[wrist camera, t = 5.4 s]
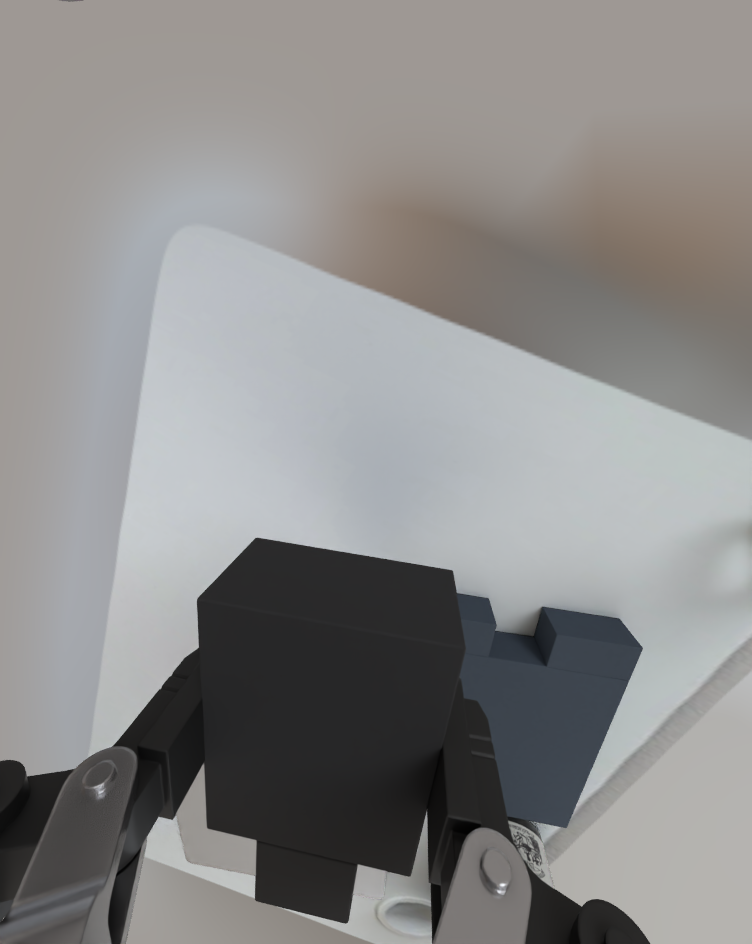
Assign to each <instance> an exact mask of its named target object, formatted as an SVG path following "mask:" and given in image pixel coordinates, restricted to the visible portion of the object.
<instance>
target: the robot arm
mask: <svg viewBox="0 0 752 944" xmlns="http://www.w3.org/2000/svg"><path fill="white" fill-rule="evenodd" d="M204 761H205V748H204V723H203V699H202V697H201V681H200V657H199V648H198V649H197V650H195V651H194V652H192V653H191V654H190V655H188V656H187V657H185V658H184V660H183V661H182V662H181V663H180V665H179V666H178V667H177V668H176V670H175V671H174V672H173V674H172V676H170V677H169V678H168V679H167V681H166V682H165V683H164V684H163V686H162V688H161V689H159V691H158V692H157V693H156V694H155V696H154V697H153V698H152V699H151V700H150V702H149V703H148V704H147V705H146V707H145V708H144V709H143V710H142V712H141V713H140V714H139V715H138V717H137V718H136V719H135V720H134V721H133V723H132V724H131V725H130V726H129V728H128V729H127V730H126V731H125V733H124V734H123V735H122V736H121V738H120V739H119V740H118V741H117V742H116V743H115V744H114V745H113V746H112V747H111V748H107V749H104V750H102V751H99V752H97V753H95V754H94V755H92V756H90V757H89V758H87V759H86V760H85V761H83V762H82V763H81V764H80V765H79V766H78V767H77V768H75V769H72V770H67V771H61V772H55V773H48V774H42V775H35V776H28V777H27V775H26V771H25V767H24V766H23V765H22V764H21V763H20V762H17V761H14V760H5V761H0V921H1V920H2V919H3V918H4V919H3V920H2V921H1V922H0V944H126V940H127V936H128V931H129V926H130V921H131V917H132V912H133V907H134V902H135V897H136V892H137V888H138V883H139V878H140V873H141V868H142V863H143V858H144V854H145V849H146V843H147V836H148V834H149V832H150V830H151V829H152V827H153V825H154V824H155V822H156V820H157V818H158V817H163V818H167V819H171V820H173V818H174V817H175V815H176V813H177V811H178V809H179V807H180V806H181V804H182V802H183V800H184V798H185V796H186V795H187V793H188V791H189V789H190V787H191V785H192V784H193V782H194V780H195V778H196V776H197V774H198V773H199V771H200V769H201V767H202V765H203V763H204ZM427 818H428V868H429V883H433V884H437V885H441V902H442V914H441V917H440V921H439V924H438V927H437V930H436V934H435V937H434V940H433V943H432V944H650V943H649V941H648V940H647V938H646V936H645V935H644V934H643V932H642V931H641V930H640V928H639V927H638V926H637V925H636V924H635V923H634V922H633V920H632V919H630V917H629V916H627V915H626V914H625V913H624V912H623V911H622V910H620V909H619V908H618V907H616V906H614V905H612V904H611V903H609V902H606V901H604V900H599V899H594V900H590V901H588V902H586V903H585V904H584V905H583V906H582V907H581V906H580V905H578V904H577V903H575V902H574V901H572V900H571V899H569V898H568V897H566V896H564V895H563V894H562V893H560V892H558V891H557V890H555V889H554V888H552V887H551V886H549V885H548V884H547V883H545V882H544V881H542V880H541V879H540V878H539V877H538V876H537V875H536V874H535V873H534V872H533V871H532V870H531V869H530V868H529V866H528V865H527V864H526V862H525V861H524V860H523V858H522V856H521V855H520V853H519V851H518V849H517V847H516V845H515V843H514V841H513V838H512V835H511V832H510V828H509V823H508V818H507V813H506V808H505V803H504V798H503V792H502V787H501V782H500V777H499V772H498V767H497V762H496V760H495V752H494V747H493V743H492V737H491V732H490V727H489V722H488V718H487V717H486V715H485V713H484V711H483V710H482V708H481V706H480V704H479V703H478V701H476V700H471V699H466V698H464V694H463V687H462V681H461V678H460V677H459V680H458V684H457V689H456V693H455V697H454V701H453V705H452V709H451V713H450V717H449V721H448V725H447V730H446V734H445V738H444V742H443V746H442V750H441V754H440V758H439V762H438V766H437V770H436V774H435V778H434V782H433V787H432V791H431V795H430V799H429V803H428V807H427Z"/></svg>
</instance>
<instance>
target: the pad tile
mask: <svg viewBox="0 0 752 944" xmlns="http://www.w3.org/2000/svg"><path fill="white" fill-rule="evenodd" d="M197 611H198V634H199V657H200V681H201V697H202V699H203V723H204V748H205V761H204V774H205V797H206V821H207V828H208V829H211V830H215V831H219V832H223V833H228V834H232V835H236V836H240V837H244V838H249V839H253V840H256V881H255V900H256V901H258V902H262V903H266V904H270V905H274V906H278V907H282V908H286V909H290V910H294V911H298V912H301V913H305V914H309V915H313V916H317V917H321V918H325V919H329V920H333V921H337V922H341V923H345V924H346V923H348V921H349V915H350V909H351V903H352V897H353V891H354V885H355V879H356V873H357V867H358V865H362V866H366V867H371V868H375V869H379V870H383V871H387V872H392V873H396V874H400V875H404V876H408V877H409V876H411V873H412V869H413V865H414V861H415V857H416V853H417V848H418V844H419V840H420V836H421V832H422V828H423V824H424V820H425V816H426V812H427V807H428V803H429V799H430V795H431V791H432V787H433V782H434V778H435V774H436V770H437V766H438V762H439V758H440V754H441V750H442V746H443V742H444V738H445V734H446V730H447V725H448V721H449V717H450V713H451V709H452V705H453V701H454V697H455V693H456V689H457V684H458V680H459V676H460V672H461V668H462V664H463V660H464V656H465V652H466V645H465V639H464V633H463V627H462V622H461V616H460V610H459V604H458V598H457V592H456V587H455V581H454V575H453V571H452V570H447V569H441V568H435V567H429V566H423V565H417V564H411V563H405V562H399V561H393V560H387V559H381V558H375V557H369V556H363V555H357V554H351V553H345V552H339V551H333V550H327V549H321V548H315V547H310V546H304V545H298V544H292V543H286V542H280V541H274V540H268V539H262V538H255V539H254V540H253V541H252V542H251V544H250V545H249V546H248V547H247V548H246V549H245V550H244V551H243V552H242V553H241V554H240V555H239V556H238V557H237V558H236V559H235V560H234V561H233V562H232V563H231V564H230V565H229V566H228V567H227V568H226V569H225V571H224V572H223V573H222V574H221V575H220V576H219V577H218V578H217V579H216V580H215V581H214V582H213V583H212V584H211V585H210V586H209V587H208V588H207V589H206V590H205V591H204V592H203V593H202V594H201V595H200V596H199V598H198V599H197Z"/></svg>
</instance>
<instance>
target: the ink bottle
mask: <svg viewBox="0 0 752 944" xmlns="http://www.w3.org/2000/svg"><path fill="white" fill-rule="evenodd" d="M507 818H508V823H509V828H510V832H511V835H512V838H513V841H514V843H515V845H516V847H517V849H518V851H519V853H520V855H521V856H522V858H523V860H524V861H525V862H526V864H527V865H528V866H529V868H530V869H531V870H532V871H533V872H534V873H535V874H536V875H537V876H538V877H539V878H540V879H541V880H542V881H544V882H545V883H547V884H548V885H549V886H551V887H552V888H554V884H553V880H552V876H551V872H550V869H549V865H548V861H547V857H546V853H545V850H544V846H543V843H542V840H541V836H540V834H539V832H538V830H537V829H536V827H535V826H534V825H533V824H532V823H531V822H530V821H528V820H524V819H519V818H514V817H509V816H507ZM554 889H555V888H554Z"/></svg>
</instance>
